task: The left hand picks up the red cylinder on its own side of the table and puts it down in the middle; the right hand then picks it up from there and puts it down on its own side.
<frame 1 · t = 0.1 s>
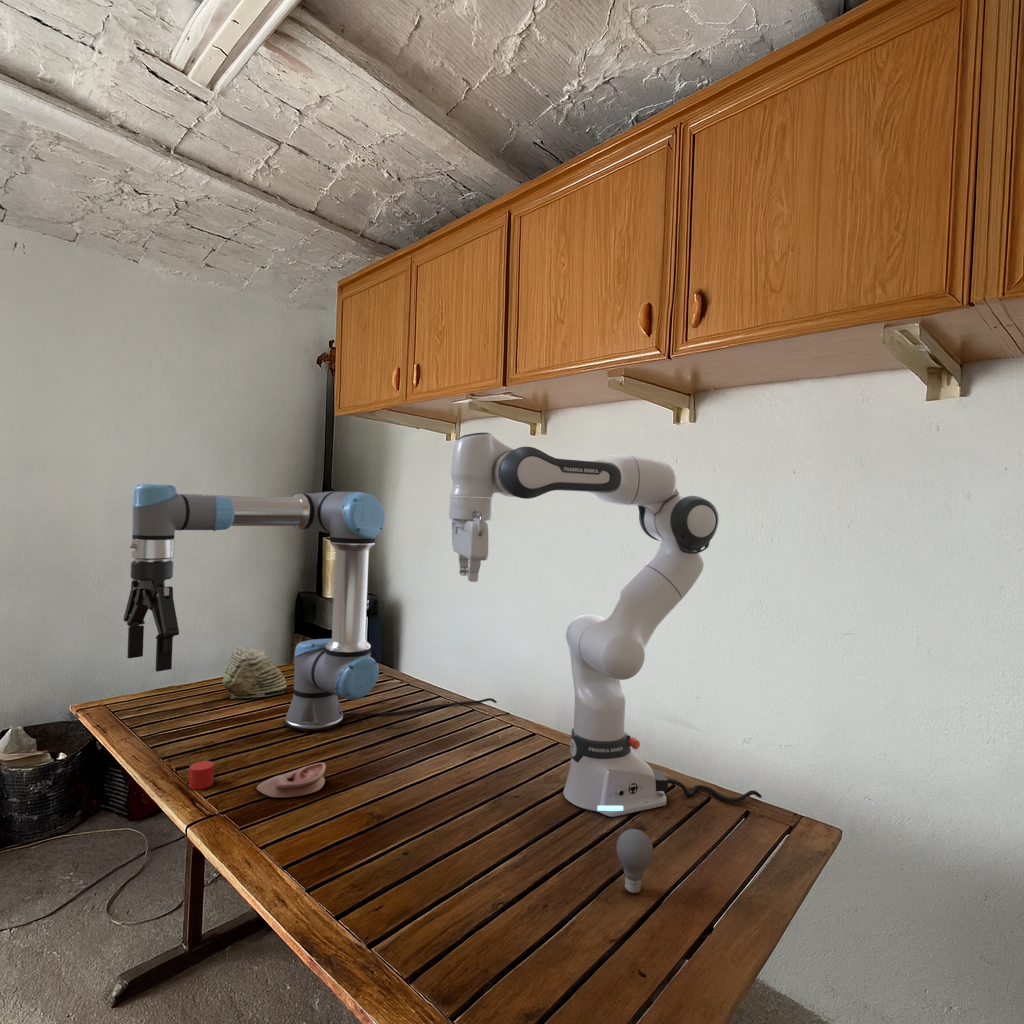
left hand: (148, 663, 129), 28 cm above the table, tool pointing down, fingers open, 13 cm apart
right hand: (468, 578, 131), 48 cm above the table, tool pointing down, fingers open, 8 cm apart
anatomical model: (291, 787, 137), on the table
red cylinder: (201, 784, 137), on the table
light bulb: (632, 891, 106), on the table
fossil: (254, 694, 198), on the table
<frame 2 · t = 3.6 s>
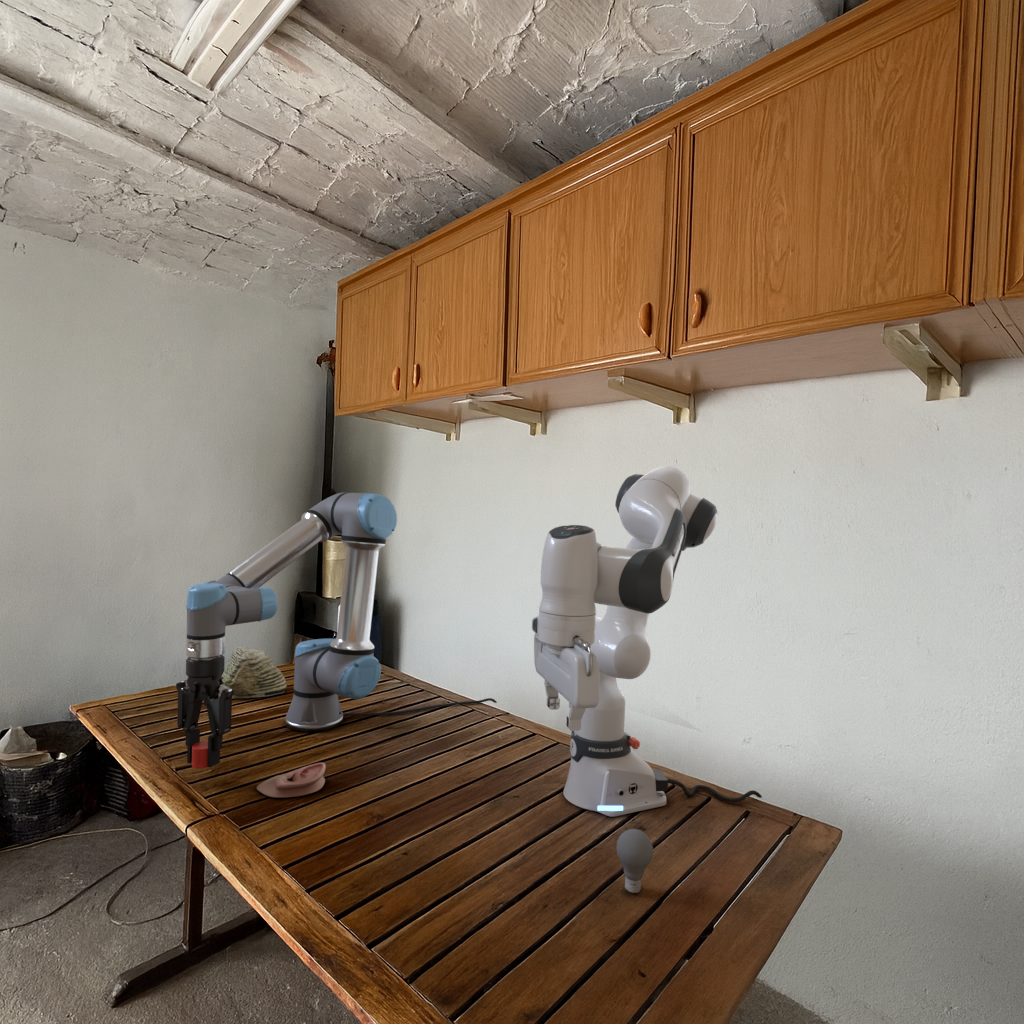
left hand: (203, 762, 137), 5 cm above the table, tool pointing down, fingers closed on red cylinder, 5 cm apart
right hand: (562, 718, 99), 31 cm above the table, tool pointing down, fingers open, 8 cm apart
red cylinder: (203, 763, 137), point 4 cm above the table, touching left hand
everything else where it was.
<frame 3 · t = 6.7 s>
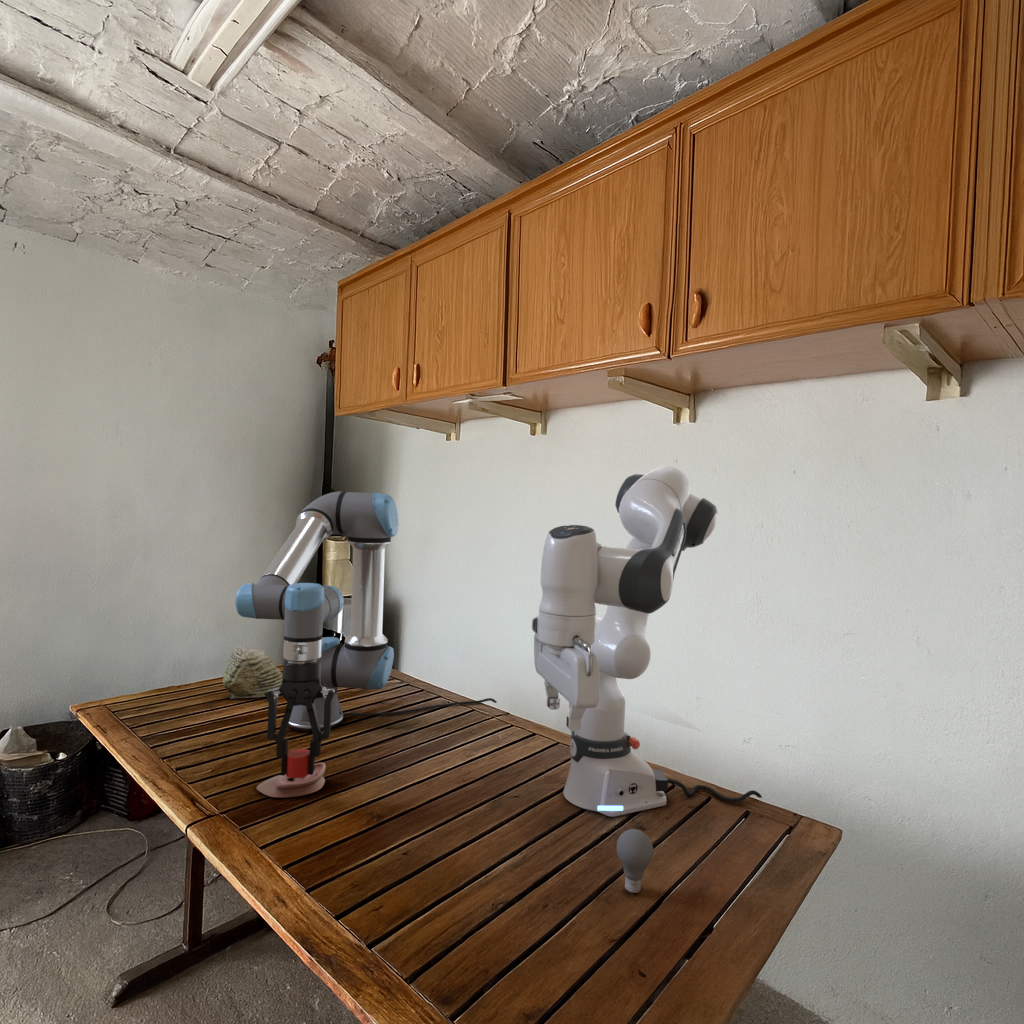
left hand: (297, 771, 130), 7 cm above the table, tool pointing down, fingers closed on red cylinder, 5 cm apart
right hand: (562, 718, 99), 31 cm above the table, tool pointing down, fingers open, 8 cm apart
red cylinder: (297, 773, 130), point 6 cm above the table, touching left hand
everything else where it was.
when the left hand's fingers open (0 cm above the table, at t = 10.1 s): red cylinder stays where it is, on the table.
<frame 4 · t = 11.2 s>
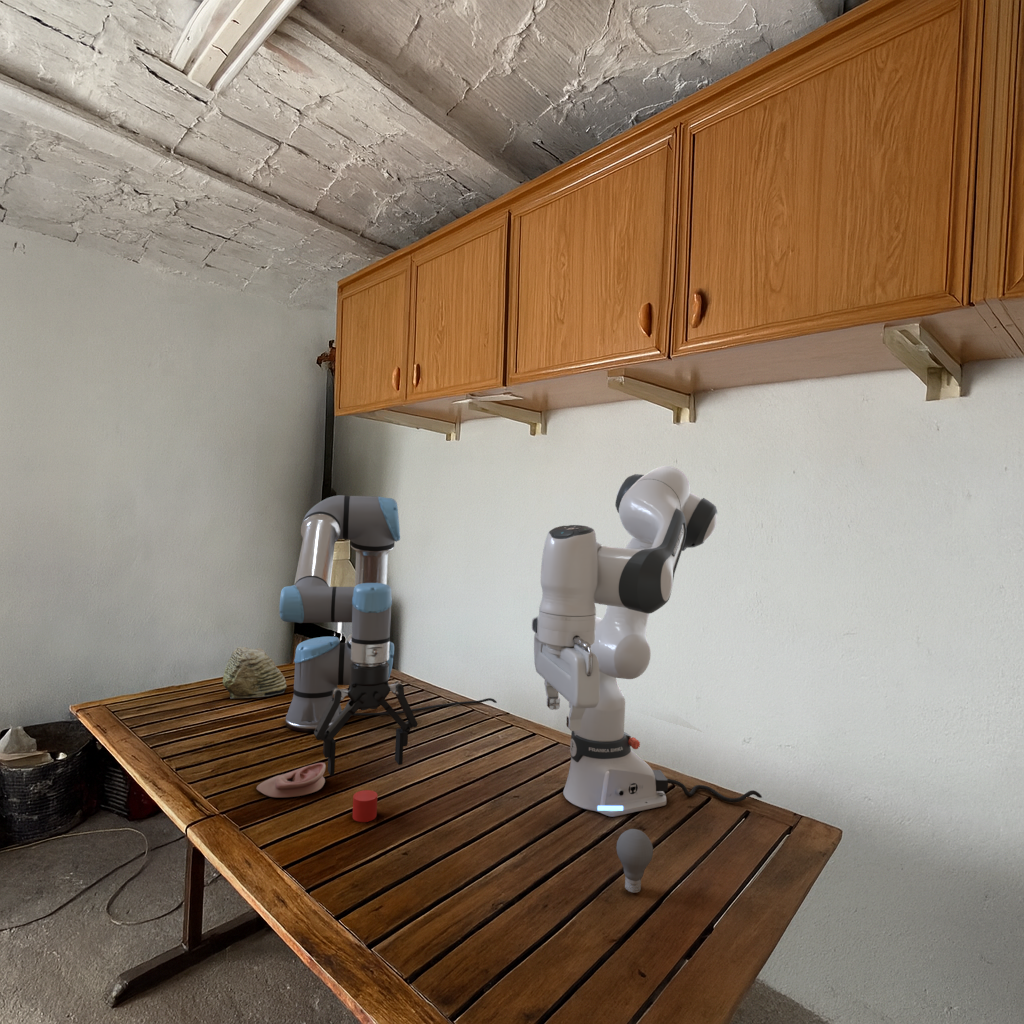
left hand: (365, 767, 127), 10 cm above the table, tool pointing down, fingers open, 13 cm apart
right hand: (562, 718, 99), 31 cm above the table, tool pointing down, fingers open, 8 cm apart
red cylinder: (364, 816, 127), on the table
everything else where it was.
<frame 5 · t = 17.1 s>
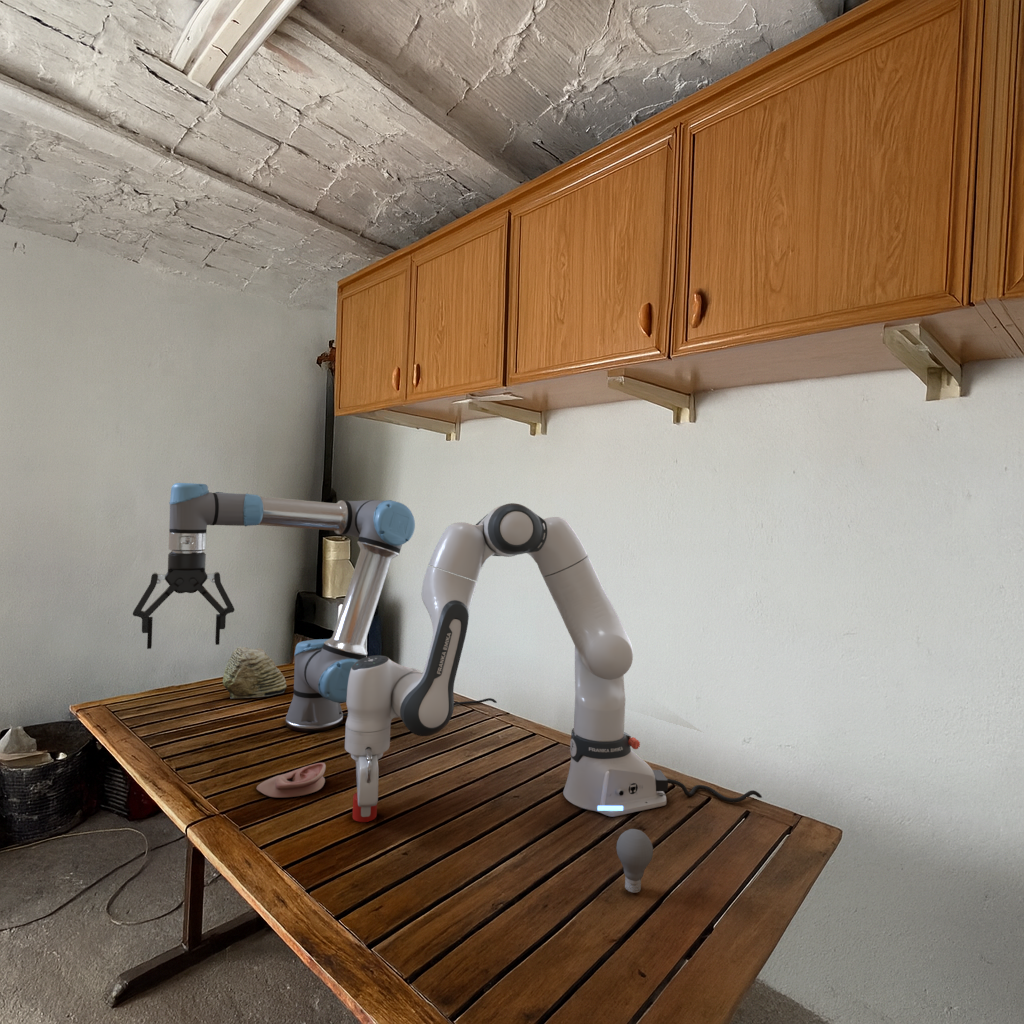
left hand: (184, 645, 143), 28 cm above the table, tool pointing down, fingers open, 13 cm apart
right hand: (365, 807, 127), 2 cm above the table, tool pointing down, fingers closed on red cylinder, 5 cm apart
red cylinder: (364, 816, 127), on the table, touching right hand
everything else where it was.
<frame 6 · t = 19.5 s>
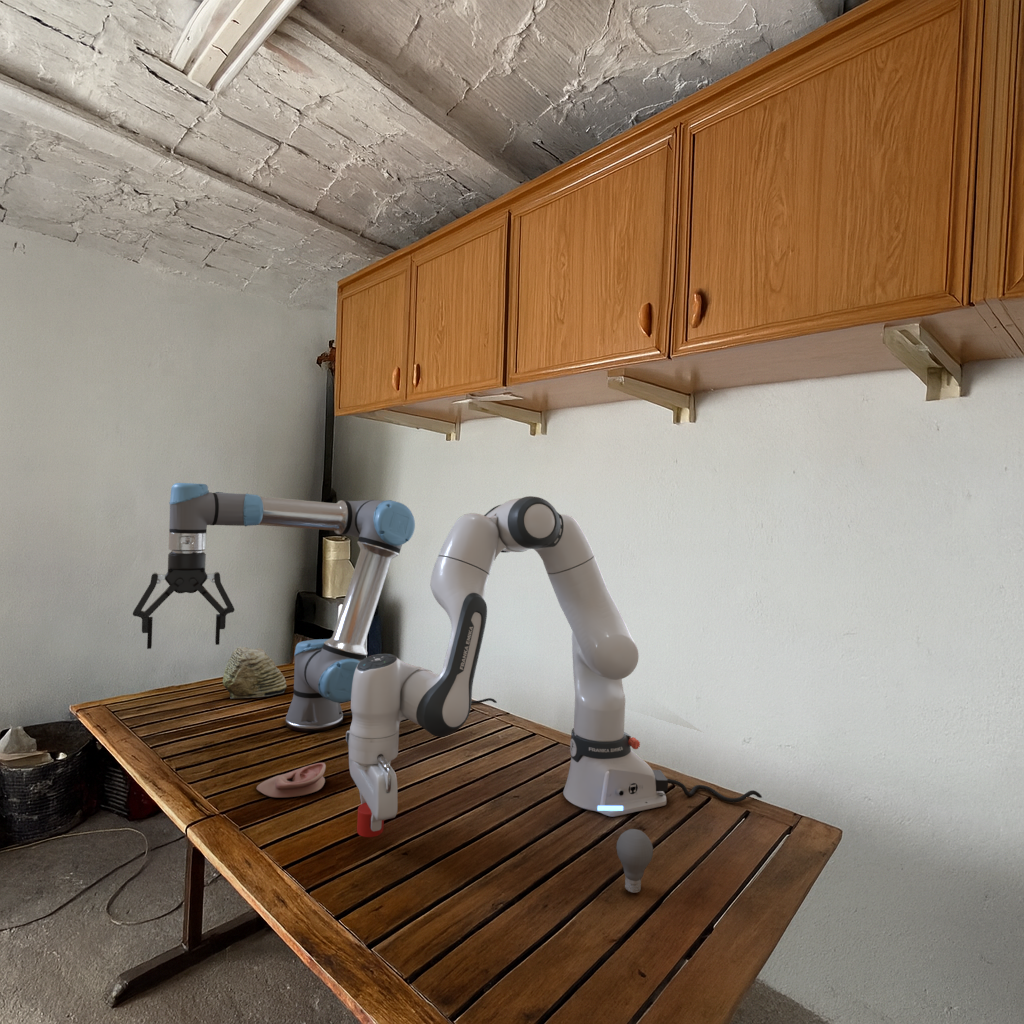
left hand: (184, 645, 143), 28 cm above the table, tool pointing down, fingers open, 13 cm apart
right hand: (370, 820, 115), 5 cm above the table, tool pointing down, fingers closed on red cylinder, 5 cm apart
red cylinder: (370, 830, 115), point 3 cm above the table, touching right hand
everything else where it was.
when the right hand's fingers open (2 cm above the table, at t = 22.2 s): red cylinder stays where it is, on the table.
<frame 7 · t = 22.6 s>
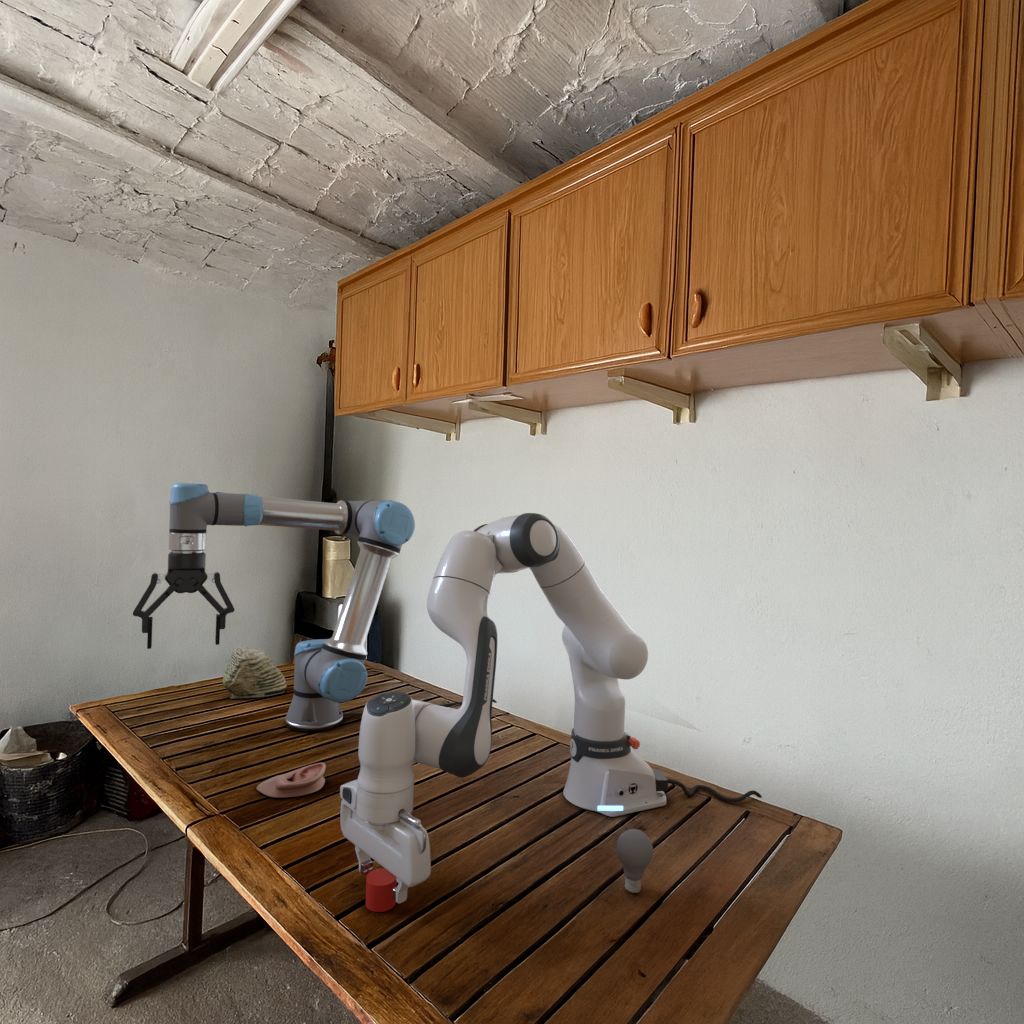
left hand: (184, 645, 143), 28 cm above the table, tool pointing down, fingers open, 13 cm apart
right hand: (382, 886, 100), 3 cm above the table, tool pointing down, fingers open, 8 cm apart
red cylinder: (380, 902, 100), on the table
everything else where it was.
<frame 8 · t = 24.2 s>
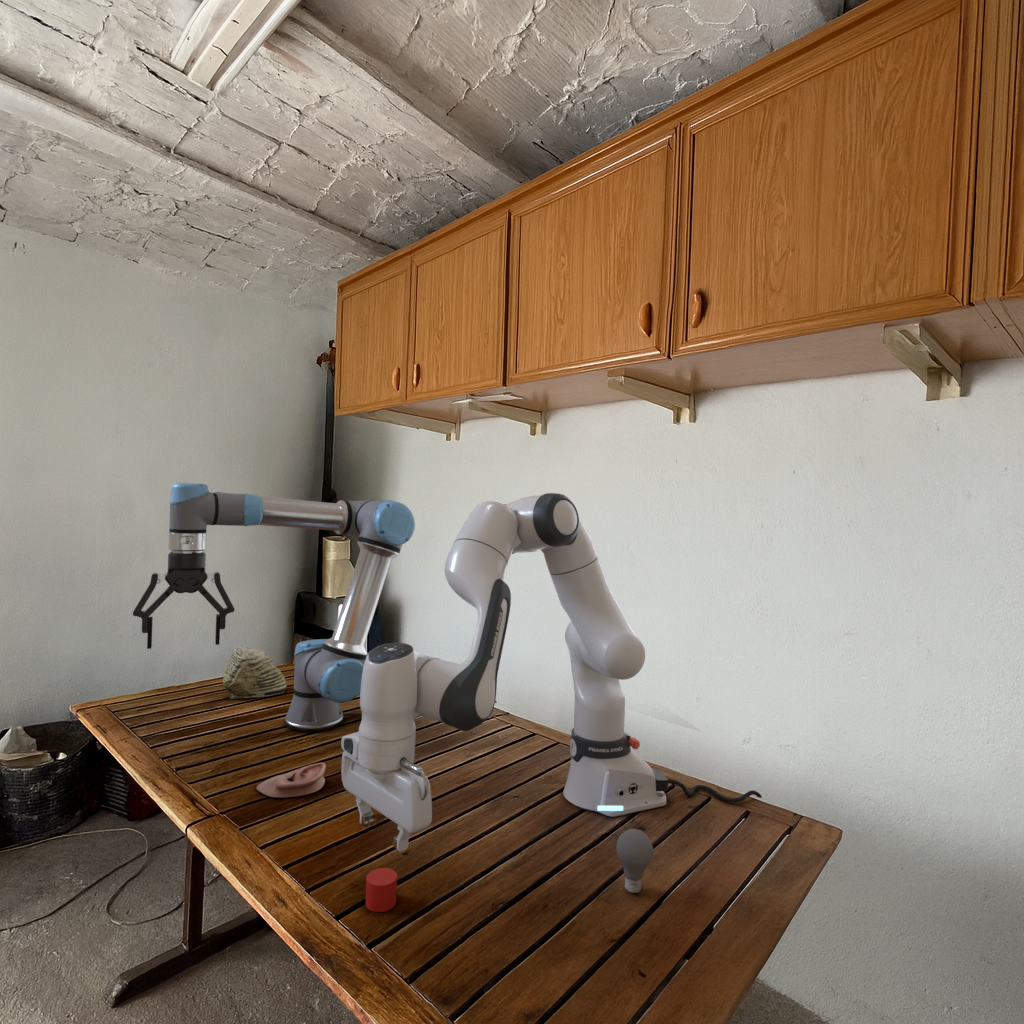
left hand: (184, 645, 143), 28 cm above the table, tool pointing down, fingers open, 13 cm apart
right hand: (383, 836, 100), 11 cm above the table, tool pointing down, fingers open, 8 cm apart
nothing on the table moved.
at the end: red cylinder inside the target area (0.0 cm from its centre), on the table; red cylinder tilted 0°; the two hands never held the red cylinder at the same time; the left hand is holding nothing; the right hand is holding nothing; red cylinder at rest at the end (0.0 cm/s) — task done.
